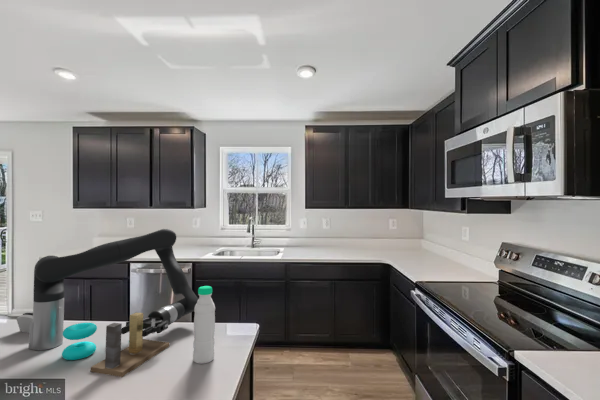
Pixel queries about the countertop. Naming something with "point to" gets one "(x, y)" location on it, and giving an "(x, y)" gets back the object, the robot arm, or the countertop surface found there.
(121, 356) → the brown wooden stand
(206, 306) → the water bottle
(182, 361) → the countertop surface
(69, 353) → the donuts
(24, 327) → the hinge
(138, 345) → the brass leg
